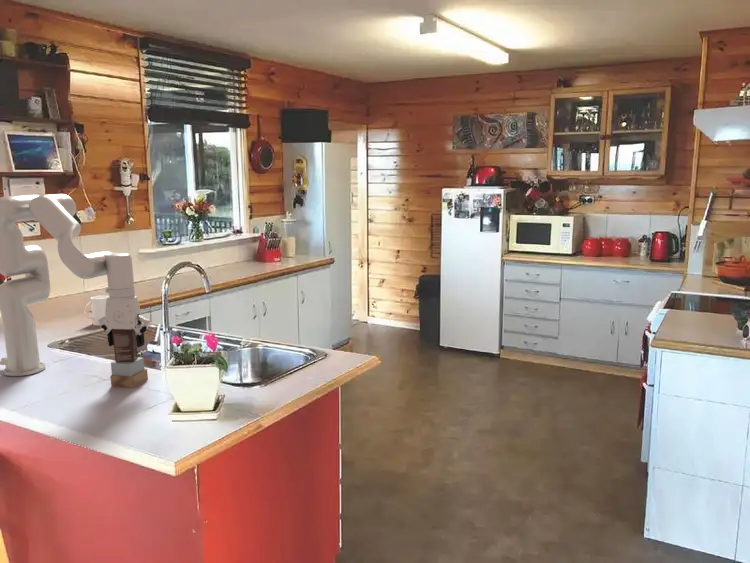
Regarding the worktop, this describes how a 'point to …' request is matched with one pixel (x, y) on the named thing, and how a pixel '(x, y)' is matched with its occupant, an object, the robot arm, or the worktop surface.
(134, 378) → the tower base
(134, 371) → the tower top
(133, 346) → the box
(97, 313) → the mug
